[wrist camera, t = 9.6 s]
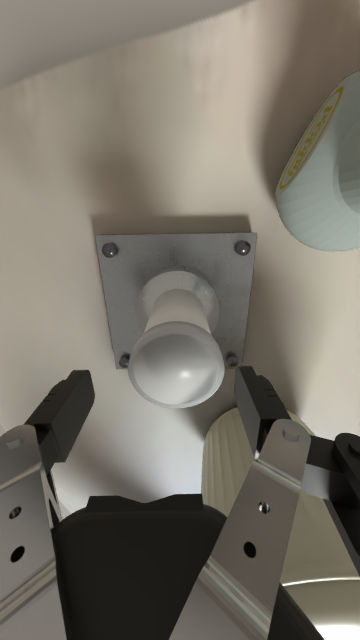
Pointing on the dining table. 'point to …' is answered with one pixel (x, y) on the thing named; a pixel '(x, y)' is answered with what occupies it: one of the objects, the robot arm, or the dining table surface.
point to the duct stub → (176, 353)
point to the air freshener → (326, 175)
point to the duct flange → (177, 284)
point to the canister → (305, 539)
